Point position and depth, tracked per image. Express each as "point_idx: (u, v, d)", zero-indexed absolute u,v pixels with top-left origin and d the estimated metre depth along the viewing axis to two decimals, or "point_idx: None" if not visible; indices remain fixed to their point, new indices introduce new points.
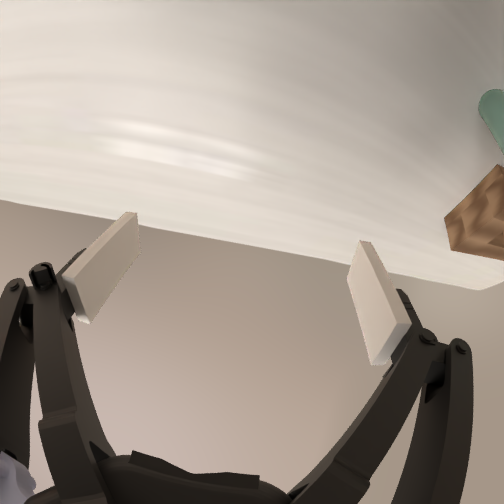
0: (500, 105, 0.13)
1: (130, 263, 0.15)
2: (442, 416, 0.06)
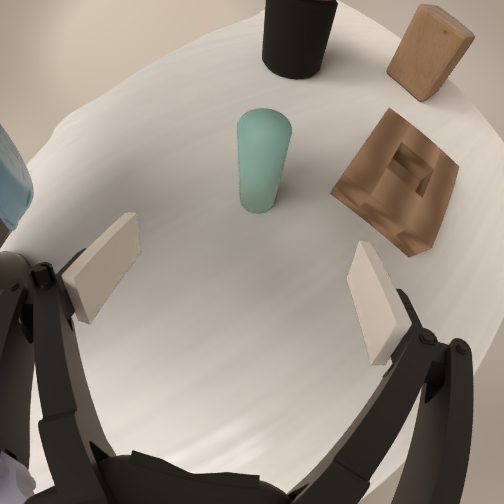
0: (240, 193, 0.31)
1: (130, 263, 0.15)
2: (442, 416, 0.06)
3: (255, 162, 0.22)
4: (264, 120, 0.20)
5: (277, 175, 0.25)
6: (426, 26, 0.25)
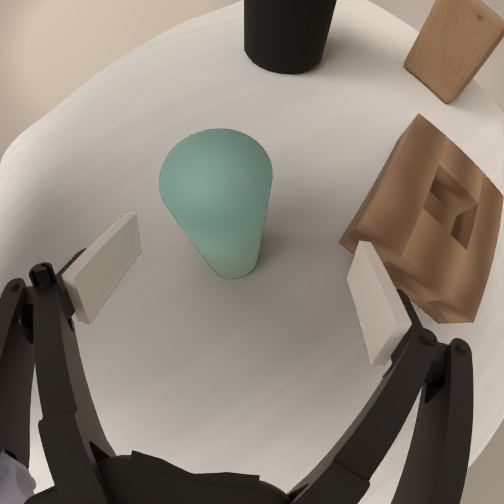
0: None
1: (130, 263, 0.15)
2: (442, 416, 0.06)
3: (203, 241, 0.12)
4: (216, 155, 0.10)
5: (252, 246, 0.15)
6: (455, 9, 0.15)
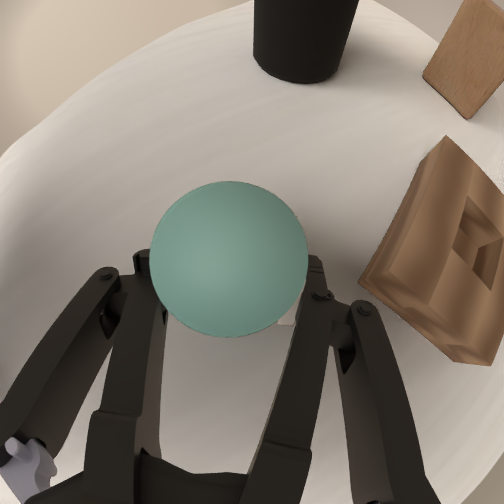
0: None
1: None
2: (365, 387, 0.07)
3: None
4: (228, 226, 0.08)
5: None
6: (480, 19, 0.12)
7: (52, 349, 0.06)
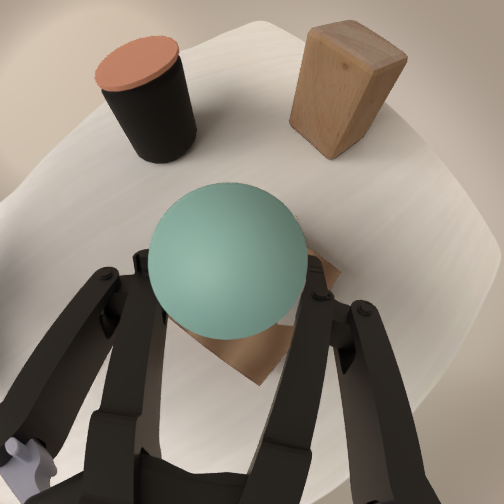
0: None
1: None
2: (365, 387, 0.07)
3: None
4: (227, 228, 0.07)
5: None
6: (320, 61, 0.26)
7: (52, 349, 0.06)
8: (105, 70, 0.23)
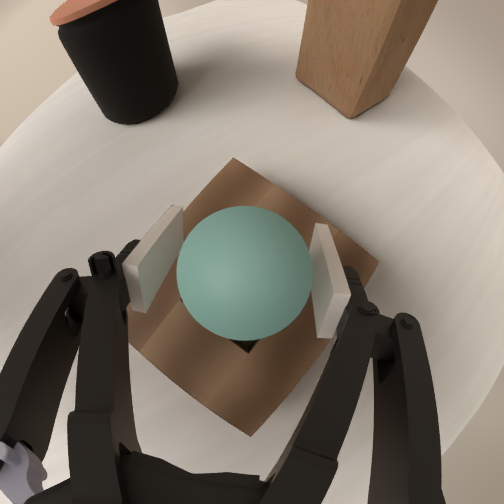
0: None
1: (176, 255, 0.16)
2: (400, 396, 0.07)
3: None
4: (245, 246, 0.09)
5: None
6: None
7: (25, 351, 0.06)
8: (63, 7, 0.12)
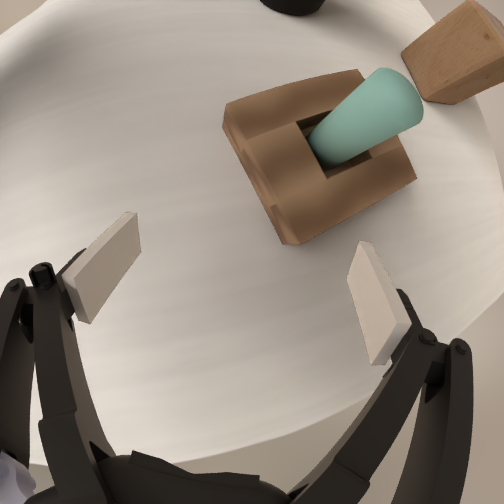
0: (308, 139, 0.24)
1: (130, 263, 0.15)
2: (442, 416, 0.06)
3: (367, 122, 0.15)
4: (401, 88, 0.13)
5: (370, 147, 0.19)
6: (466, 22, 0.15)
7: None
8: None
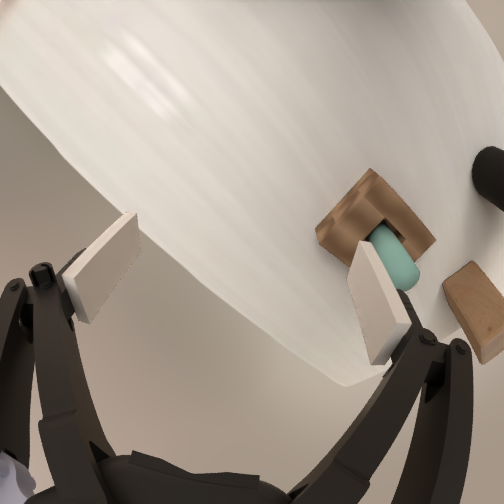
0: (378, 224, 0.40)
1: (130, 263, 0.15)
2: (442, 416, 0.06)
3: (387, 264, 0.33)
4: (410, 278, 0.31)
5: None
6: (498, 313, 0.33)
7: None
8: None
